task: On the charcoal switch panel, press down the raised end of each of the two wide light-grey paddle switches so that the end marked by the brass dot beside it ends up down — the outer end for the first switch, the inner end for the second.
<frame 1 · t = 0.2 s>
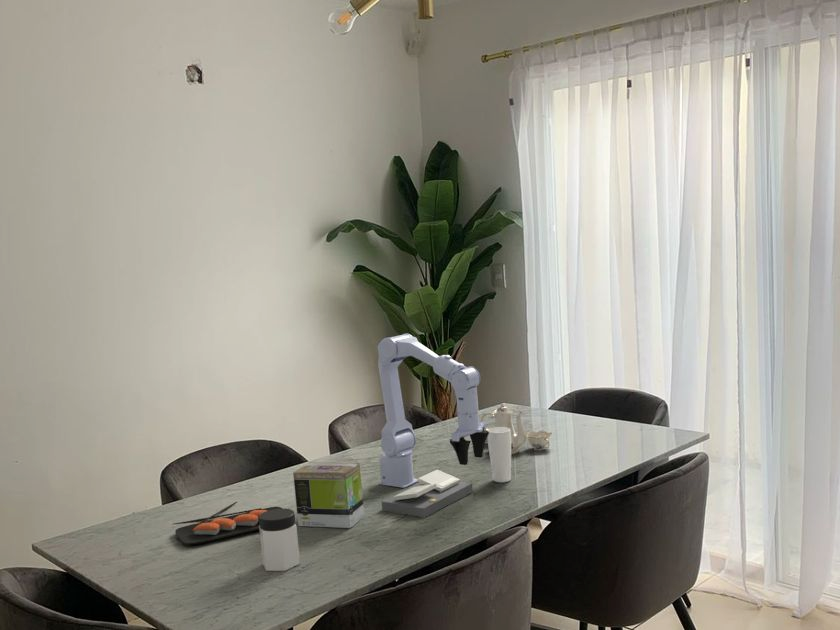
hand: (471, 460, 237), 10 cm above the table, tool pointing down, fingers open, 7 cm apart
jar: (281, 565, 200), on the table
sushi plate: (227, 523, 233), on the table
switch 1: (415, 491, 232), point 4 cm above the table, hinge at -14.0°
switch panel: (428, 500, 237), on the table
tea box: (331, 522, 227), on the table
switch 2: (439, 480, 241), point 4 cm above the table, hinge at 14.0°
drinking glass: (502, 481, 251), on the table
chinaware: (510, 450, 284), on the table
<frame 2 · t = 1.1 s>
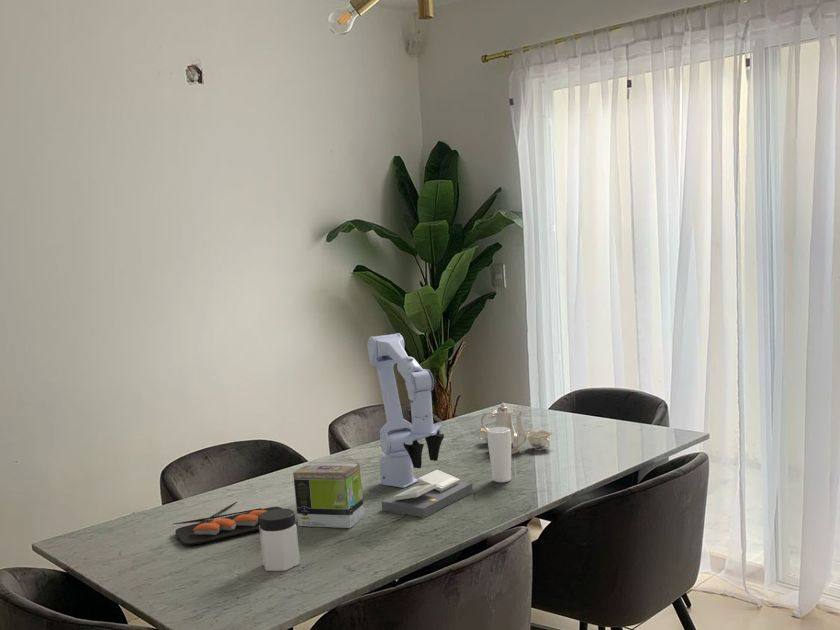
hand: (425, 464, 236), 10 cm above the table, tool pointing down, fingers open, 7 cm apart
nothing on the table moved.
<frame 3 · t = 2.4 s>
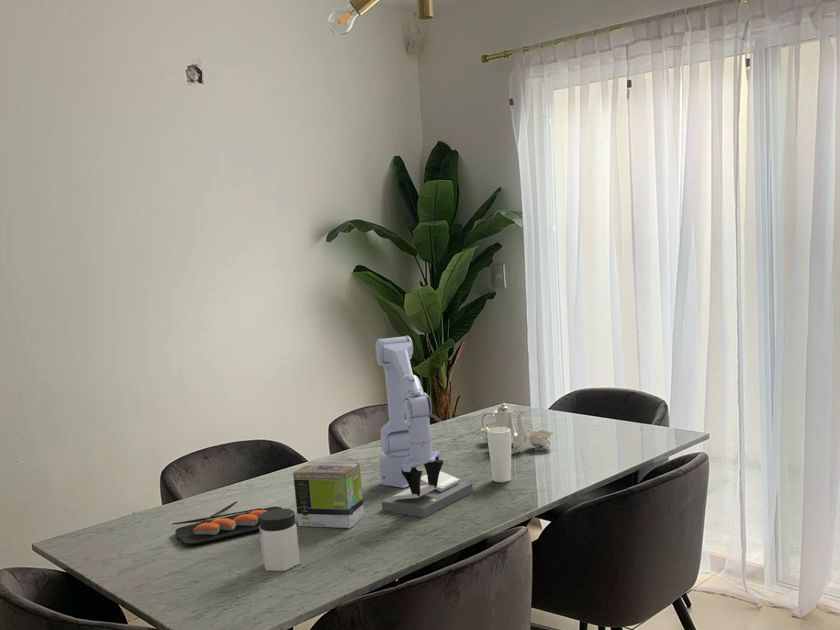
hand: (424, 491, 230), 5 cm above the table, tool pointing down
switch 1: (415, 491, 232), point 4 cm above the table, hinge at -11.2°, touching gripper
everything else where it was.
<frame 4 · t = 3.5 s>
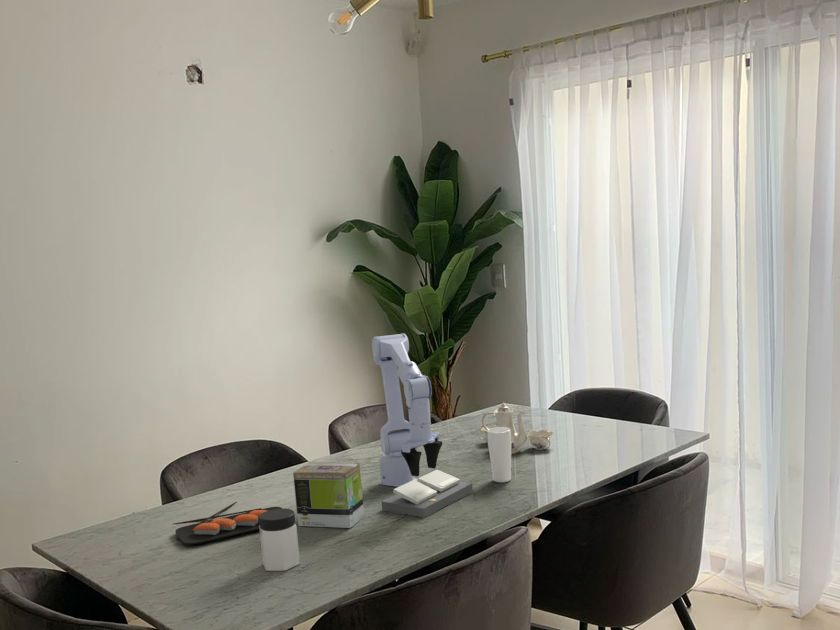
hand: (423, 471, 233), 9 cm above the table, tool pointing down, fingers open, 7 cm apart
switch 1: (415, 491, 232), point 4 cm above the table, hinge at 16.6°
everything else where it was.
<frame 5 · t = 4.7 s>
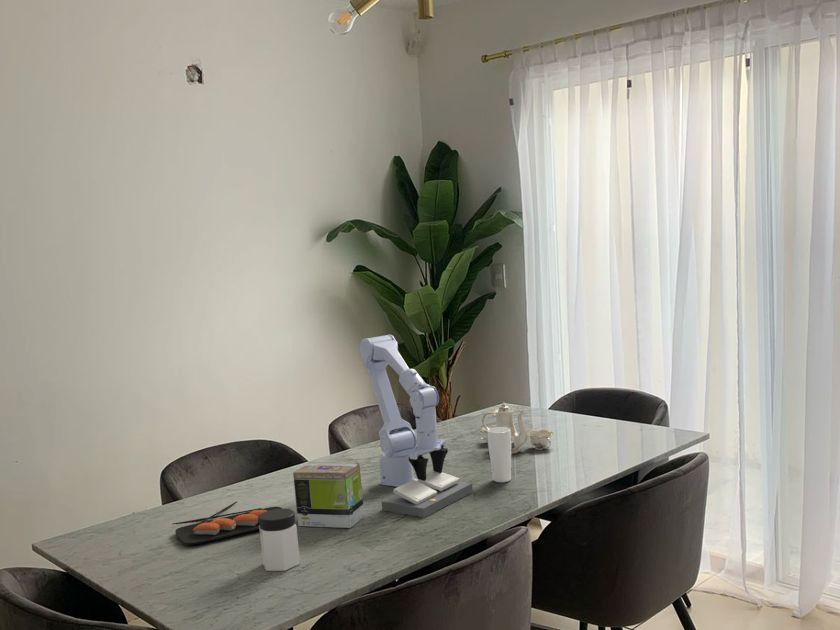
hand: (430, 477, 243), 5 cm above the table, tool pointing down
switch 1: (415, 491, 232), point 4 cm above the table, hinge at 17.4°
switch 2: (438, 480, 241), point 4 cm above the table, hinge at 10.0°, touching gripper
everything else where it was.
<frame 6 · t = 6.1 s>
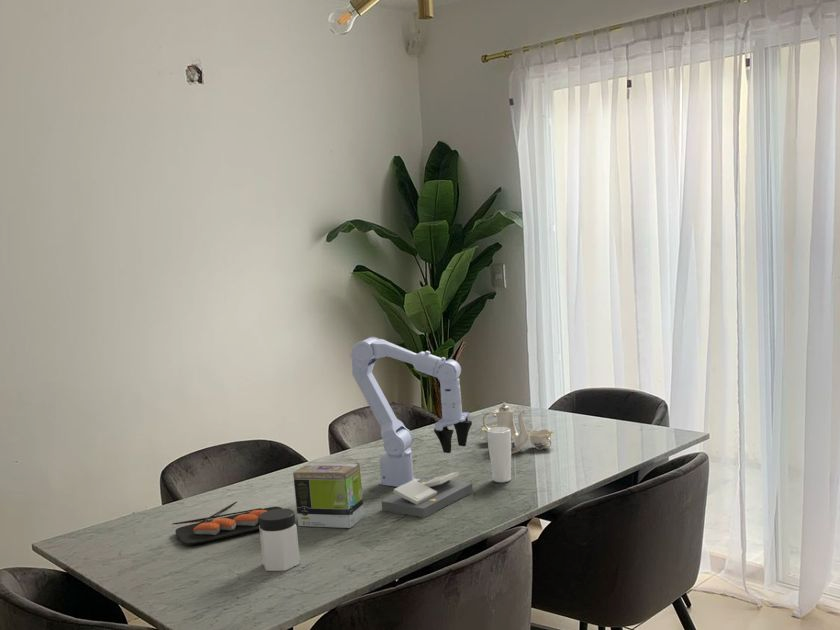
hand: (454, 449, 249), 10 cm above the table, tool pointing down, fingers open, 7 cm apart
switch 1: (415, 491, 232), point 4 cm above the table, hinge at 17.1°
switch 2: (438, 480, 241), point 4 cm above the table, hinge at -18.4°, touching switch panel
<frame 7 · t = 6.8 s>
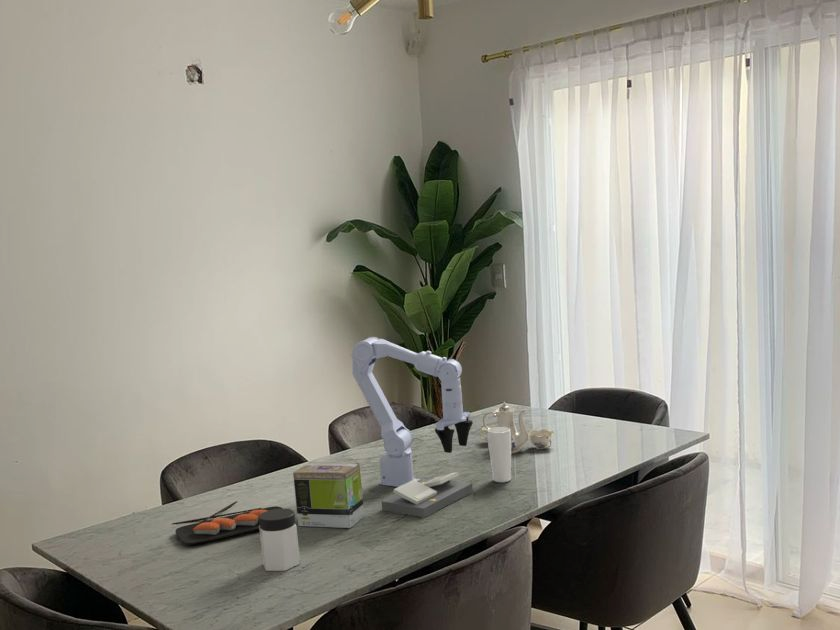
hand: (455, 448, 249), 10 cm above the table, tool pointing down, fingers open, 7 cm apart
switch 2: (438, 480, 241), point 4 cm above the table, hinge at -17.9°, touching switch panel
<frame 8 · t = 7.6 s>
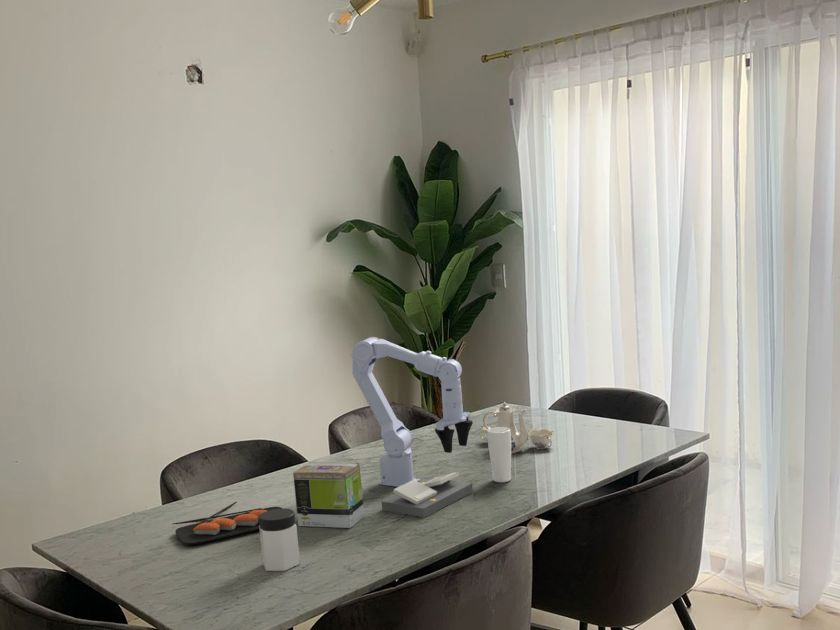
hand: (455, 448, 249), 10 cm above the table, tool pointing down, fingers open, 7 cm apart
switch 2: (438, 480, 241), point 4 cm above the table, hinge at -17.7°
at the end: switch 1 at +17° (first picture: -14°); switch 2 at -18° (first picture: +14°) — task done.
